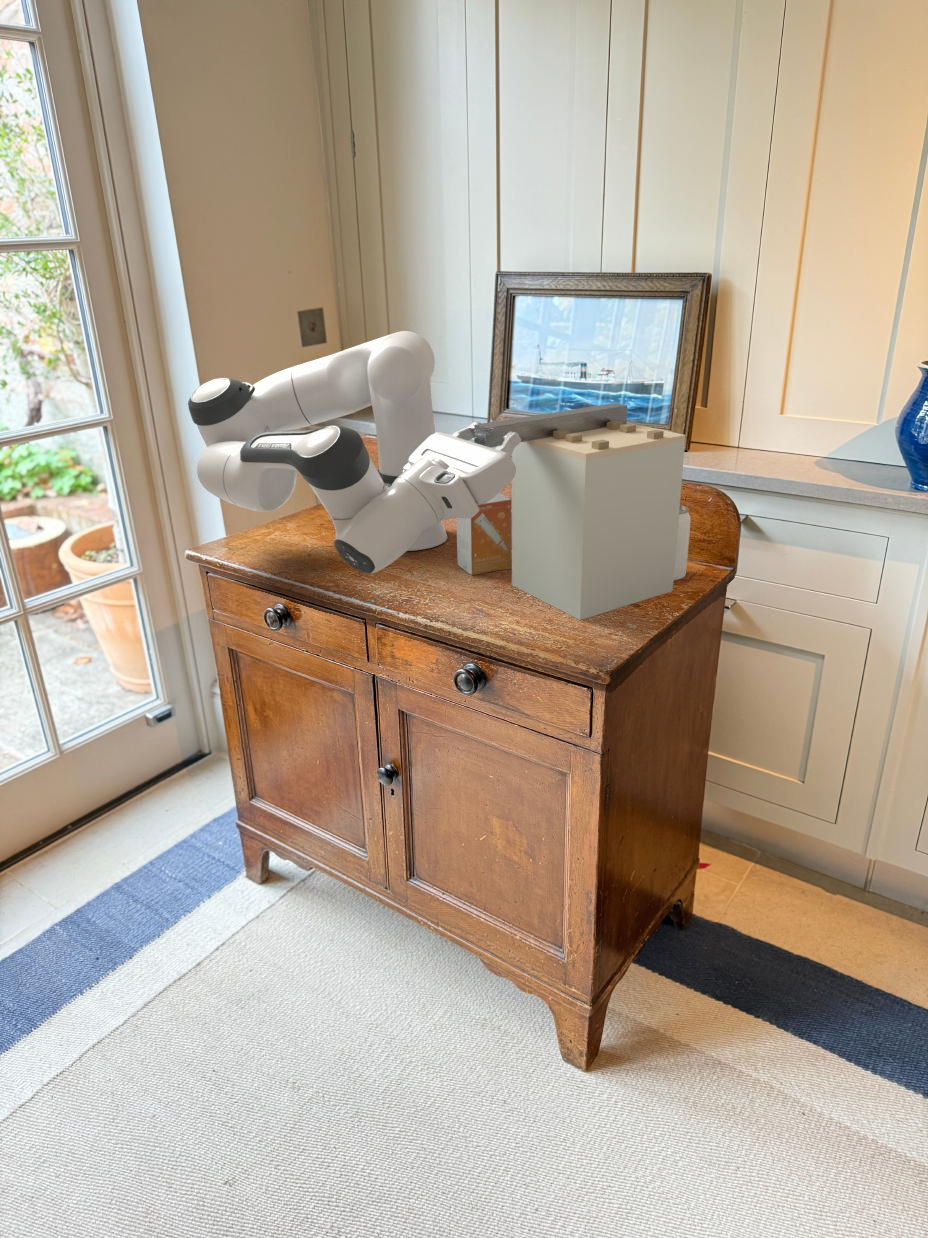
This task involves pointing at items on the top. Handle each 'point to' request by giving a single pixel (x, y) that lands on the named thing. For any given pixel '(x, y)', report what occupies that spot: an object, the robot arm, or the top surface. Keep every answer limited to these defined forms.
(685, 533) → the can
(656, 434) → the stand
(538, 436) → the long grey bar
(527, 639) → the top surface
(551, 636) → the top surface
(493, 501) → the small box
